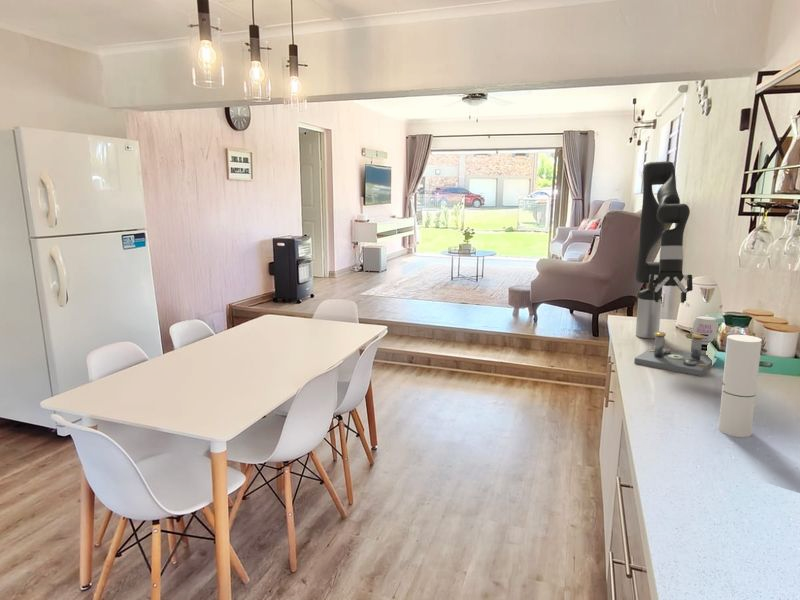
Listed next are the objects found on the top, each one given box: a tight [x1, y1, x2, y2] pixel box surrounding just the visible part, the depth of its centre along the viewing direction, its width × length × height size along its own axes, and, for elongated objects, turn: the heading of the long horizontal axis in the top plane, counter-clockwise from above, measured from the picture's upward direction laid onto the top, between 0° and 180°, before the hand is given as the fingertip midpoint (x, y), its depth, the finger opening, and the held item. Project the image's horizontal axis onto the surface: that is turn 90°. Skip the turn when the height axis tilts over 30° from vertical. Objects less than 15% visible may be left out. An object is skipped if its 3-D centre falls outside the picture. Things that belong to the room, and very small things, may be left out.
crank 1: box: [654, 331, 671, 357], centre depth 186 cm, size 11×4×9 cm, turn 135°
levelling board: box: [633, 346, 713, 377], centre depth 183 cm, size 20×22×2 cm
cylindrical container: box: [718, 334, 763, 438], centre depth 126 cm, size 7×7×25 cm
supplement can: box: [690, 315, 719, 355], centre depth 189 cm, size 8×8×15 cm
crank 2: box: [683, 334, 703, 366], centre depth 176 cm, size 11×4×9 cm, turn 135°
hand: (669, 302), depth 182 cm, fingers open, 8 cm apart
